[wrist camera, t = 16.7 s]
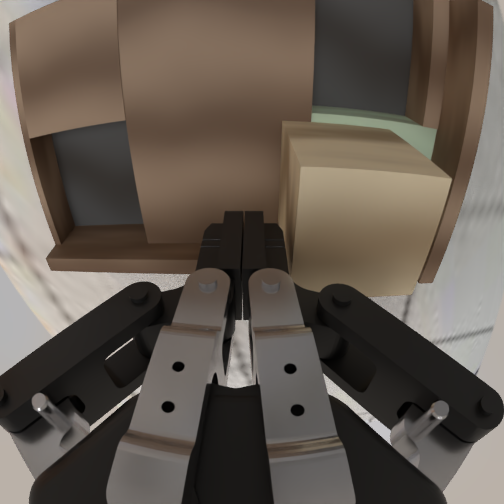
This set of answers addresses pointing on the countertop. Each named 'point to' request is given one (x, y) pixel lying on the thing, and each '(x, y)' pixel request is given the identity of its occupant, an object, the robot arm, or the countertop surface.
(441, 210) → the block
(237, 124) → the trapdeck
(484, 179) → the countertop surface
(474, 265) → the countertop surface
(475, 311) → the countertop surface
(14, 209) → the countertop surface
